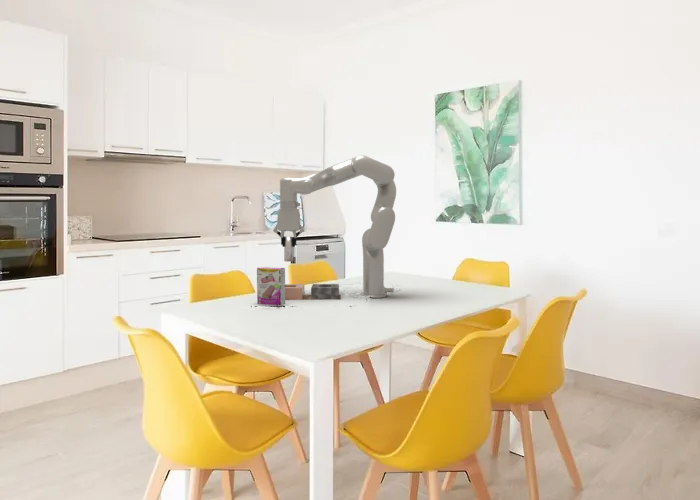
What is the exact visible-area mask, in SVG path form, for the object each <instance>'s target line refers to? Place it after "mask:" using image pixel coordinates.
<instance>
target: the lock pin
mask: <svg viewBox="0 0 700 500" xmlns="http://www.w3.org/2000/svg"><path fill="white" fill-rule="evenodd" d="M283 249H284V250H283V251H284V253H283V254H284V255H283V257H284V259H283V261H284V262H294V247H293V236H291V235H290V236H284V247H283Z"/></svg>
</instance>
